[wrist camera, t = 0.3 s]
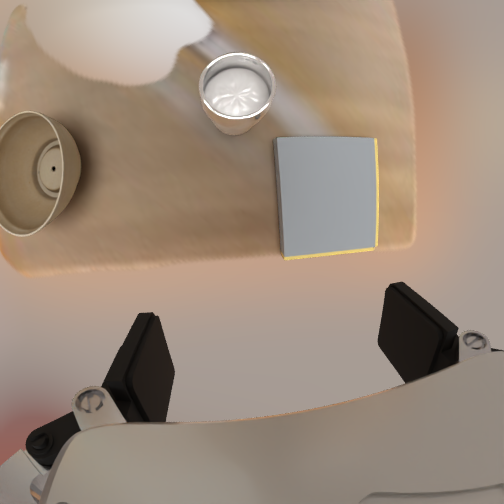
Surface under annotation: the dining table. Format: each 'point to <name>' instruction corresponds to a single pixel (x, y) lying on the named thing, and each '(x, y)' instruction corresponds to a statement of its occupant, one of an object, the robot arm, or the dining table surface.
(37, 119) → the planter bowl
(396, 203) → the dining table surface
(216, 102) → the beer glass
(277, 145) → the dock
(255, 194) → the dining table surface
